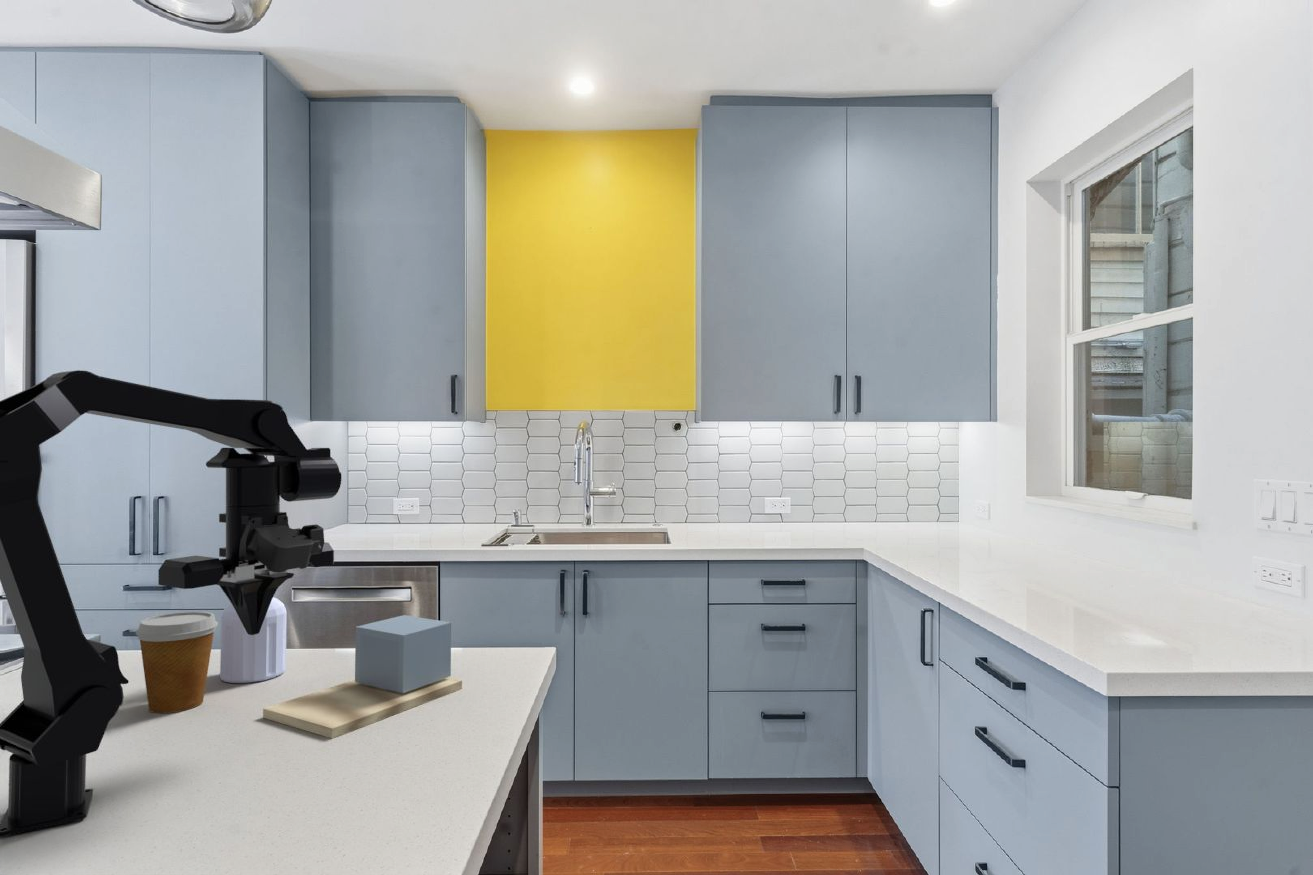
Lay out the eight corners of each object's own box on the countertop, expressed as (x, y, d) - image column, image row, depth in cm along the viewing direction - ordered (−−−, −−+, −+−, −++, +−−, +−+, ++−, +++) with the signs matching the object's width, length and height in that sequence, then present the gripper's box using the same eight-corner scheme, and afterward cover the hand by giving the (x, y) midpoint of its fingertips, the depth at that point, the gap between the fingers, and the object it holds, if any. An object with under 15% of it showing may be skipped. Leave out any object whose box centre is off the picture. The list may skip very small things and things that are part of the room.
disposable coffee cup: (222, 691, 107) (223, 608, 107) (208, 712, 98) (210, 622, 98) (145, 698, 104) (147, 613, 104) (124, 721, 95) (126, 628, 95)
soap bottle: (225, 670, 117) (228, 516, 118) (289, 664, 120) (291, 515, 121) (213, 686, 109) (216, 521, 109) (282, 680, 112) (284, 520, 113)
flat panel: (332, 738, 90) (333, 695, 90) (263, 717, 96) (263, 677, 96) (462, 688, 109) (462, 653, 109) (396, 674, 116) (396, 641, 116)
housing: (402, 693, 102) (403, 635, 102) (354, 681, 106) (355, 626, 107) (450, 676, 109) (451, 622, 110) (403, 666, 114) (404, 614, 114)
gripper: (214, 514, 76) (214, 664, 76) (363, 501, 93) (363, 624, 92) (155, 510, 81) (155, 650, 81) (305, 498, 98) (306, 615, 98)
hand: (253, 634), depth 88 cm, fingers closed
